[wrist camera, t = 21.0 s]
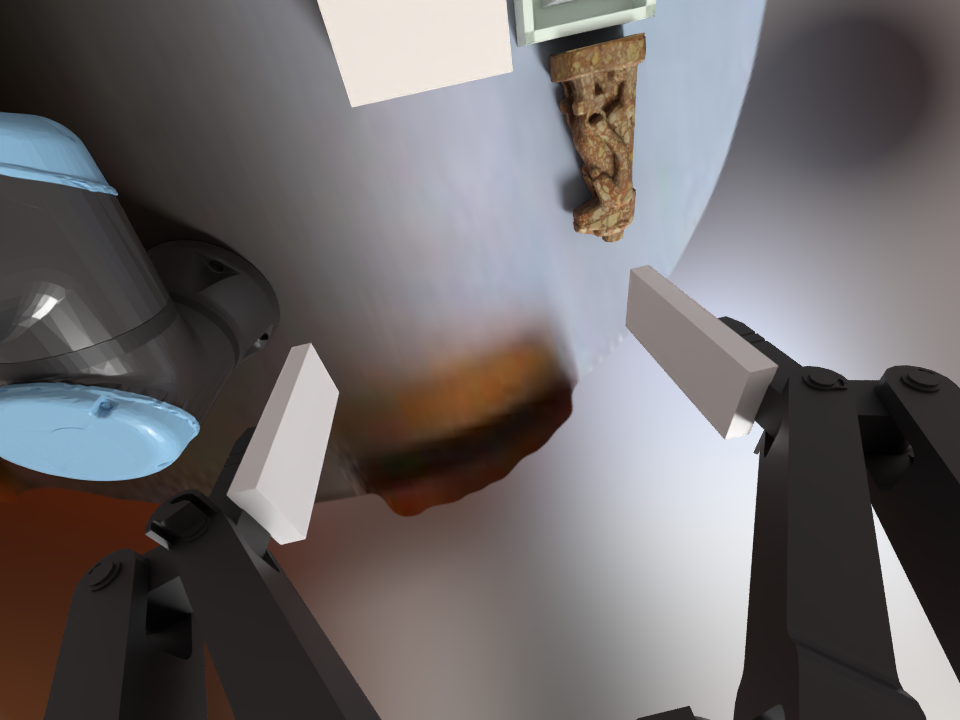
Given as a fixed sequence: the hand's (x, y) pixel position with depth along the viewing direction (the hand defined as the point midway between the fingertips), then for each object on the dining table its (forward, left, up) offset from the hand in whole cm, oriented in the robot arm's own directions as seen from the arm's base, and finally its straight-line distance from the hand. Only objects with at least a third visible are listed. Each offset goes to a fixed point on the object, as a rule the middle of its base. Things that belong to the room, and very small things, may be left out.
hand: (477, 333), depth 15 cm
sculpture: (+18, -1, -32) cm, 37 cm away
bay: (+1, +13, -32) cm, 34 cm away
